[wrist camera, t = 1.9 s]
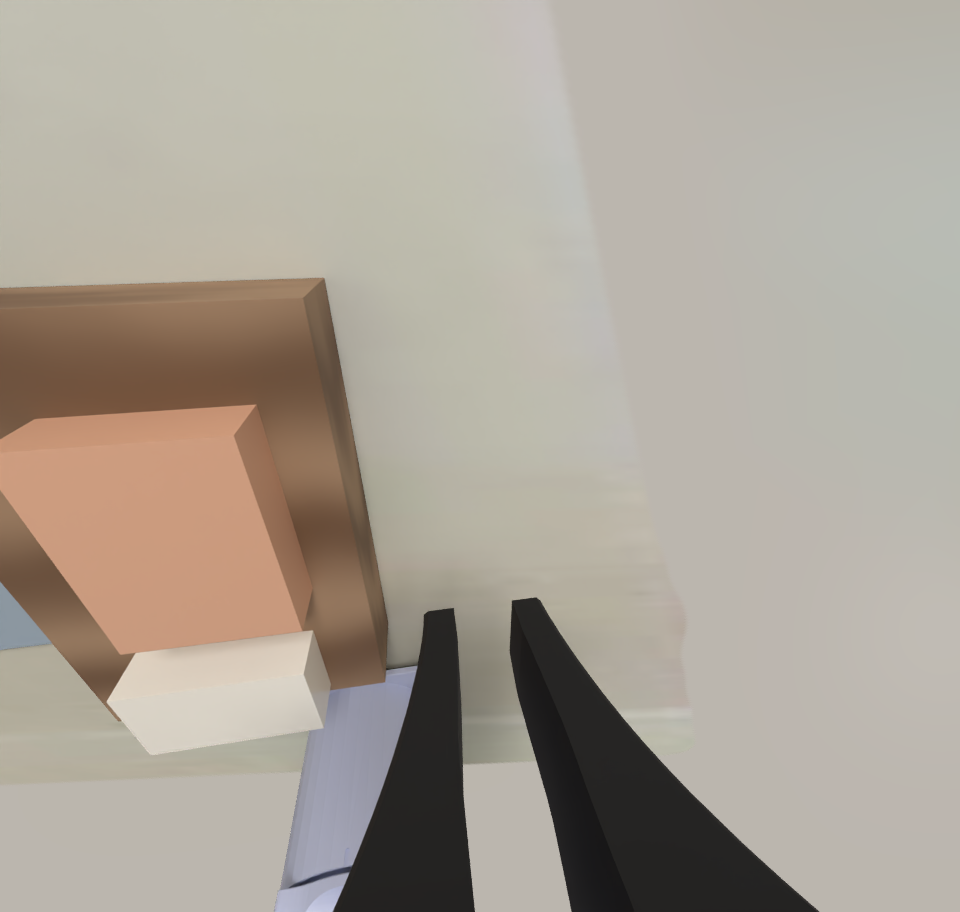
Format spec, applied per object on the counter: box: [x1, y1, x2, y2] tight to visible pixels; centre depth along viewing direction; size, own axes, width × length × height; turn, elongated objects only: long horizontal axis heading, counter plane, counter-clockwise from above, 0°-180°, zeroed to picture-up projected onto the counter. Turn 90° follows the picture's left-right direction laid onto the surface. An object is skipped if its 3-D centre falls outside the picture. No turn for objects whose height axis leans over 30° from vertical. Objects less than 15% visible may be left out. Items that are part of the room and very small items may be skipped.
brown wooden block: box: [0, 278, 388, 721], centre depth 17 cm, size 18×12×4 cm, turn 0°
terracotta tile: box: [0, 405, 313, 655], centre depth 14 cm, size 8×6×2 cm
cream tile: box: [107, 630, 331, 755], centre depth 18 cm, size 4×7×2 cm, turn 91°
